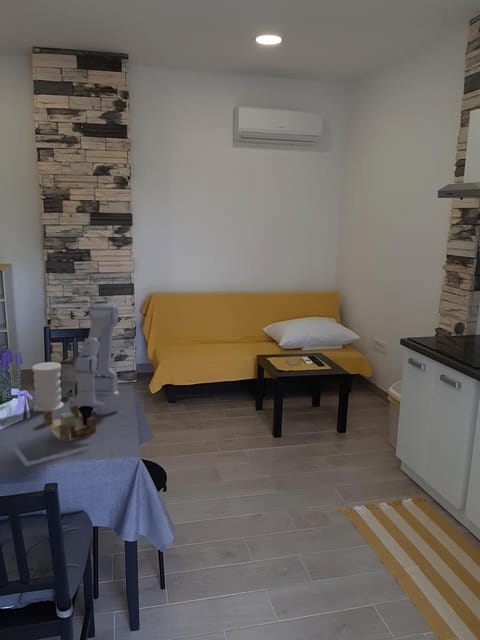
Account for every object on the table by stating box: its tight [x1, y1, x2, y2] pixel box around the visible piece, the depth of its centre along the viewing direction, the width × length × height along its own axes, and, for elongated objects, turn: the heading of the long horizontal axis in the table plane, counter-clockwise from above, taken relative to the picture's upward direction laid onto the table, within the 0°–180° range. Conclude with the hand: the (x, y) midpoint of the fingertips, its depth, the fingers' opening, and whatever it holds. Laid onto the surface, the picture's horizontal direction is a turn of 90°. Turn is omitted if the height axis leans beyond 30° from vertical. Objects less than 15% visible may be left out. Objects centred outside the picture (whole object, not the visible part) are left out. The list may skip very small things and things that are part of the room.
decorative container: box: [31, 361, 64, 412], centre depth 200 cm, size 12×12×18 cm
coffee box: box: [60, 355, 78, 399], centre depth 217 cm, size 9×6×16 cm
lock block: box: [60, 411, 75, 427], centre depth 184 cm, size 4×4×4 cm
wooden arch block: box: [75, 415, 97, 437], centre depth 177 cm, size 7×2×5 cm, turn 134°
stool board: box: [42, 403, 98, 443], centre depth 181 cm, size 13×20×6 cm, turn 39°
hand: (87, 424), depth 180 cm, fingers closed, pressing on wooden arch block
